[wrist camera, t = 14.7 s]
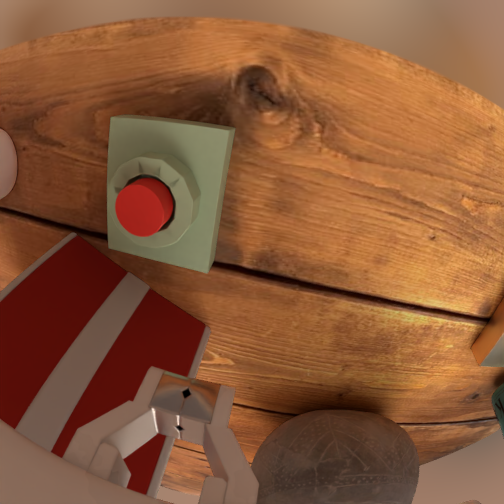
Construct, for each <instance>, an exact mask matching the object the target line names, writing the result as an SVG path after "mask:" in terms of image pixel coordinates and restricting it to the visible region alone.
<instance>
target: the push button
mask: <svg viewBox="0 0 504 504" xmlns="http://www.w3.org/2000/svg"><path fill="white" fill-rule="evenodd" d="M115 211H116V215H117V218H118V220H119V222H120V224H121V225H122V226H123V228H124V229H125V230H127V231H128V232H129V233H131V234H133V235H135V236H139V237H148V236H151V235H153V234H155V233H156V232H157V231H158V230H159V229H160V228H161V227H162V226H163V225H164V224H165V223H166V222H167V221H168V220H169V218H170V217H171V215H172V212H173V200H172V196H171V194H170V192H169V190H168V189H167V187H166V186H165V185H164V184H163V183H161V182H160V181H158V180H156V179H153V178H141V179H138V180H136V181H135V182H133V183H131V184H130V185H128V186H126V187H125V188H123V189H122V190H121V191H120V193H119V194H118V196H117V199H116V203H115Z"/></svg>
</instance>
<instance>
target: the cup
mask: <svg viewBox="0 0 504 504" xmlns="http://www.w3.org/2000/svg"><path fill="white" fill-rule="evenodd" d="M17 168H18V165H17V155H16V150H15V147H14V144H13V141H12V139H11V138H10V136H9V135H8V134H7V132H5V131H4V130H2V129H0V199H2V198H3V197H5V196H6V195H7V194H9V192H10V191H11V190H12V188H13V186H14V184H15V181H16V177H17Z"/></svg>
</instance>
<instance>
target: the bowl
mask: <svg viewBox="0 0 504 504" xmlns="http://www.w3.org/2000/svg"><path fill="white" fill-rule="evenodd" d="M419 466H420V465H419V458H418V453H417V449H416V447H415V445H414V443H413V441H412V439H411V438H410V436H409V435H408V433H407V432H406V431H405V430H403V428H401V427H400V426H399V425H398V424H396V423H395V422H394V421H392V420H390V419H389V418H387V417H384V416H382V415H379V414H375V413H369V412H364V411H353V410H316V411H312V412H307V413H304V414H301V415H298V416H295V417H293V418H292V419H290V420H288V421H286V422H284V423H283V424H281V425H280V426H279V427H277V428H276V429H275V430H274V431H273V432H272V433H271V434H270V435H269V436H268V437H267V438H266V439H265V441H264V442H263V443H262V445H261V446H260V447H259V449H258V451H257V453H256V455H255V457H254V459H253V462H252V465H251V469H252V471H253V473H254V475H255V477H256V479H257V481H258V483H259V488H258V495H257V502H256V504H411V503H412V500H413V497H414V494H415V491H416V487H417V484H418V477H419Z"/></svg>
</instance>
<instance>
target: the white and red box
mask: <svg viewBox="0 0 504 504" xmlns="http://www.w3.org/2000/svg"><path fill="white" fill-rule="evenodd" d="M210 333H211V330H210V328H209V327H208V326H205V324H204V323H202V322H200V321H199V320H197V319H196V318H194V317H193V316H191V315H189V314H188V313H186V312H185V311H183V310H182V309H180V308H179V307H177V306H176V305H174V304H173V303H171V302H170V301H168V300H167V299H165V298H164V297H162V296H161V295H159V294H158V293H156V292H155V291H153V290H152V289H150V286H149V285H147V284H146V283H144V282H143V281H142V280H140V279H139V278H137V277H136V276H135V275H133V274H132V273H130V272H126V271H125V270H124V269H122V268H121V267H120V266H118V265H117V264H115V263H114V262H113V261H111V260H110V259H109V258H107V257H106V256H105V255H103V254H102V253H101V252H99V251H98V250H97V249H95V248H94V247H93V246H92V245H90V244H89V243H88V242H86V241H85V240H84V239H83V238H81V237H80V236H77V234H76V233H70V234H69V235H68V236H66V237H65V238H64V239H62V240H61V241H60V242H59V243H57V244H56V245H55V246H54V247H52V248H51V249H50V250H49V251H47V252H46V253H45V254H44V255H42V256H41V257H40V258H39V259H37V260H36V261H35V262H34V263H33V264H31V265H30V266H29V267H28V268H27V269H26V270H24V271H23V272H22V273H21V274H20V275H19V276H17V277H16V278H15V279H14V280H13V281H12V282H11V283H10V284H9V285H7V286H6V287H5V288H4V289H3V290H2V291H1V292H0V419H1V420H2V421H4V422H5V423H6V424H8V425H9V426H11V427H12V428H13V429H15V430H16V431H18V432H19V433H21V434H22V435H24V436H25V437H27V438H28V439H30V440H32V441H33V442H35V443H36V444H38V445H40V446H41V447H43V448H45V449H46V450H48V451H50V452H51V453H53V454H55V455H57V456H58V457H60V458H62V457H63V455H64V454H65V452H66V450H67V448H68V446H69V444H70V442H71V440H72V438H73V436H74V435H75V433H76V431H77V429H78V428H80V427H82V426H84V425H86V424H87V423H89V422H91V421H93V420H95V419H97V418H99V417H100V416H102V415H104V414H106V413H108V412H109V411H111V410H113V409H115V408H117V407H118V406H120V405H122V404H124V403H125V402H127V401H132V402H133V400H134V398H135V396H136V394H137V392H138V390H139V388H140V386H141V384H142V382H143V380H144V378H145V375H146V373H147V371H148V370H149V368H150V367H151V366H153V367H156V368H159V369H163V370H166V371H169V372H172V373H176V374H179V375H182V376H186V377H190V378H196V375H197V372H198V369H199V366H200V363H201V360H202V357H203V354H204V351H205V348H206V345H207V342H208V339H209V336H210ZM174 441H175V438H173V437H169V436H166V435H162V434H159V433H157V435H155V436H154V437H153V438H151V439H150V440H149V441H147V442H146V443H145V444H143V445H142V446H141V447H139V448H138V449H137V450H135V451H134V452H133V453H131V454H130V455H128V456H127V457H126V458H124V459H123V460H124V462H125V464H126V466H127V468H128V469H129V471H130V473H131V476H130V479H129V482H128V485H127V487H126V488H128V489H130V490H133V491H136V492H139V493H141V494H144V495H147V496H150V497H153V498H156V496H157V493H158V490H159V487H160V484H161V481H162V478H163V475H164V472H165V468H166V465H167V462H168V459H169V456H170V453H171V450H172V447H173V444H174Z"/></svg>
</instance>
